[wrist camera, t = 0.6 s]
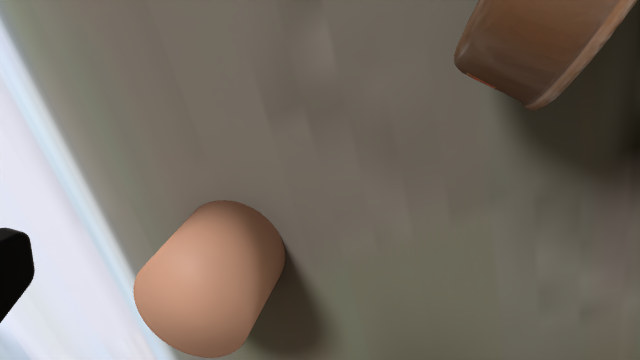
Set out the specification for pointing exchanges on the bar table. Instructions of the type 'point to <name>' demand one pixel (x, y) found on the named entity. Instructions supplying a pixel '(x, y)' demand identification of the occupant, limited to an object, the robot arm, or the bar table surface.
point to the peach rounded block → (211, 279)
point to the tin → (535, 44)
